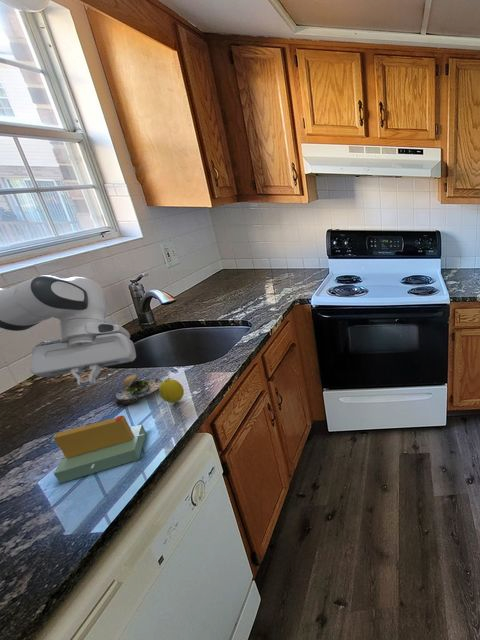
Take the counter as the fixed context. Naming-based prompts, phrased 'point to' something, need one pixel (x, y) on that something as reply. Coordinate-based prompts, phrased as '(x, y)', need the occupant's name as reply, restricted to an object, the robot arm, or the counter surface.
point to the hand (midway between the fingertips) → (86, 384)
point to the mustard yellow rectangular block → (94, 436)
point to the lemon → (171, 391)
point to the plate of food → (136, 389)
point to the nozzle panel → (101, 457)
